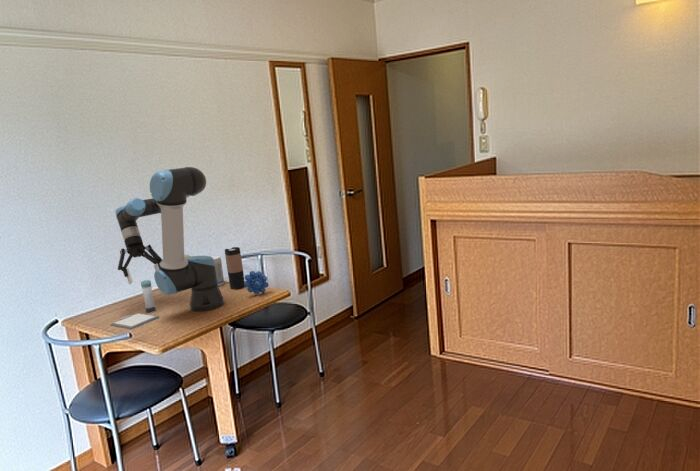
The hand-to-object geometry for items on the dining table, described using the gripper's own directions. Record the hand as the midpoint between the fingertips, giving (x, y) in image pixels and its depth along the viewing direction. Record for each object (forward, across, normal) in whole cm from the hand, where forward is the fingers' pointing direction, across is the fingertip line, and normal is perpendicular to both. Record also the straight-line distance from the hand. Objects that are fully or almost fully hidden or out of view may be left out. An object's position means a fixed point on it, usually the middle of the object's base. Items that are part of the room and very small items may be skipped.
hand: (145, 280), depth 240 cm
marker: (+13, 0, -5) cm, 14 cm away
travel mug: (+14, -42, +3) cm, 45 cm away
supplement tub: (+7, -39, -11) cm, 41 cm away
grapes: (+24, -40, +22) cm, 51 cm away
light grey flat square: (+18, +10, +1) cm, 21 cm away
